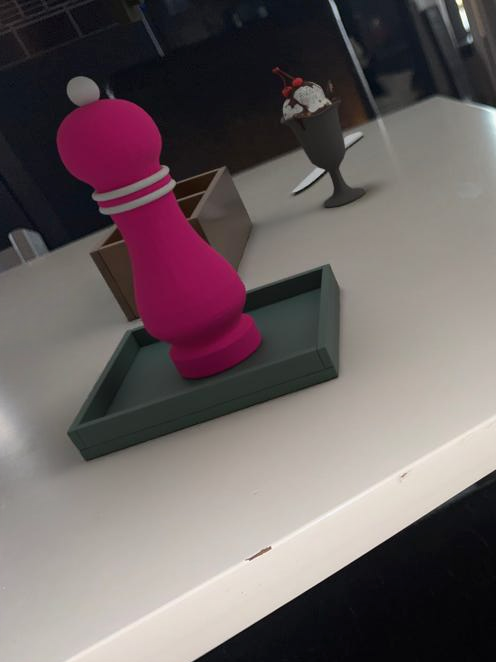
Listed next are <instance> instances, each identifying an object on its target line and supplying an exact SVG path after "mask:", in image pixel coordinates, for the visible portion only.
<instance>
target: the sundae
mask: <svg viewBox="0 0 496 662" xmlns="http://www.w3.org/2000/svg"><path fill="white" fill-rule="evenodd" d="M271 72H272V73H273V74H276V75H278V76H280V78H281V79H282V81H283V85H284V89H283V90H282V95H283V97H285V98H286V99H285V100H284V103H283V105H282V106H283V107H282V114H283V115H282V117H281V118H280V123H281V124H282V125H286V126H288V127H289V128H290V129H291V130H292V132H293V134H294V135H295V137H296V139H297V141H298V142H299V144H300V146H301V148H302V150H303V152H304V153H305V156H306V157H307V158H308V160H309V161H310V162H311V164H312V165H313V166H315V167H316V168H317V167H319V168H321V169H324V170H325V172H327V173H328V174H329V176H330V179H331V181H332V186H333V192H332V194H331V195H330V196H329V197H327V199H325V200H324V201H323V203H322V204H323V206H324V207H325V208H336V207H341V206H344V205H347V204H349V203H353V202H354V201H356V200H358V199H359V198H361V197H363V195H365V193H366V189H365V188H363V187H351V186H350V185H348V183H346V181H345V180H344V177H343V176H342V175H343V174H342V173H341V170H340V167H341V164H342V162H343V160H344V159H345V155H346V152H347V151H346V149H345V144H344V139H345V137H344V135H343V131H342V127H341V123H340V118H339V112H338V108H339V105H340V104H341V103H342V101H343V100H342V98H341V97H333V84H332V80H331V79H328V82H327V85H326V90H325V92H324V90H323V88H322V87H321V86H320V85H318V84H316V83H315V82H313V81H306V80H305V81H303V78H300V77H296V78H295V77H292V76H291V75H288V74H287V73H286V72H284V71H282V70H280V68H279V67H278V66H277V67H275V68H274V69H272V71H271ZM280 73H282V74H283V75H284V76H286V77H288V78H289V79H291V80H293V81H292V82H291V84H292V86H287V84H286V83H287V82H286V80H285V78H284V77H283V75H282V74H280Z"/></svg>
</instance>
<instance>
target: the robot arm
mask: <svg viewBox="0 0 496 662" xmlns="http://www.w3.org/2000/svg"><path fill="white" fill-rule="evenodd" d="M107 1H108V3H109V5H110V8H111V10H112V12H113V15H114V16H115V19H116V21H117V22H118V23H119V24H120V25H123V26H128V25H130V24H133V23H137V22H140V21H142V20H144V16H143V14H142V11H141V9H140V7H139V5H143V4H144V3H145V0H107Z"/></svg>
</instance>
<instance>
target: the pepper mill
mask: <svg viewBox="0 0 496 662" xmlns="http://www.w3.org/2000/svg"><path fill="white" fill-rule="evenodd" d="M66 94H67V96H68V98H69V100H70V101H71V102H72V103H73V104H74V105H76V106H78V107H77V108H75V109H74V110H72V111H71V112H70V113H69V114H67V115H66V116H65V118H64V119H63V120H62V122H61V123H60V125H59V127H58V129H57V133H56V145H57V150H58V154H59V157H60V159H61V162H62V163H63V165H64V166H65V168H66V170H67V171H68V173H70V174H71V175H72V176H74V178H76V179H78V180H79V181H82V182H84V183H86V184H88V185H89V186H91V187H92V188H93V189H94V191H93V192H92V194H91V198H92V200H93V201H94V202H95V201H96V203H97V206H98V208H99V209H98V211H99V213H100V214H102V215H104V216H105V215H108V216H110V218H111V219H112V222H113V223H114V224H116V226H117V227H118V229H119V230H120V232H121V234H122V237H123V239H124V241H125V243H126V245H127V248H128V251H129V255H130V259H131V263H132V271H133V280H134V291H135V301H136V305H137V309H138V313H139V316H140V317H139V318H140V320H141V323H142V326H143V325H144V327H145V329H146V330H147V331H148V333H149V334H150V335H152V336H153V337H155V338H157V339H159V340H161V341H164V342H167V343H169V344H172V346H171V348H170V352H169V356H170V358H171V359H172V361H173V363H174V365H175V366H176V368H177V370H178V372H179V373H180V375H182V376H183V377H186V378H192V379H197V378H204V377H208V376H212V375H216V374H218V373H221V372H223V371H226V370H228V369H230V368H232V367H234V366H235V365H237V364H239V363H241V362H242V361H244V360H245V359H246V358H248V357H249V356H250V355H251V354H253V353H254V352H255V351H256V350H257V348H258V347H259V345H260V343H261V334H260V332H259V330H258V328H257V326H256V324H255V322H254V320H253V318H252V317H251V316H250V315H247V314H243V313H242V311H243V307H244V304H245V300H246V291H247V288H246V286H245V283H244V282H243V280H242V278H241V276H240V275H239V274H238V272H237V271H235V269H234V268H233V267H232V266H231V265H230V264H229V262H228V261H227V260H226V259H225V258H223V257H222V256H221V255H220V254H219V253H218V252H216V251H215V250H214V249H213V248H212V247H211V246H209V245H208V244H207V243H206V242H205V241H204V240H203V239H202V238H201V237H200V236H199V235H198V234H197V233H196V231H195V230H194V229H193V228H192V227H191V225H190V224H189V222H188V221H187V219H186V217H185V216H184V214H183V212H182V211H181V209H180V207H179V205H178V203H177V200H176V198H175V195H174V193H173V191H172V189H173V188H174V187H175V185H176V181H175V180H174V178H172V177H171V175H170V168H169V167H168V166H167V165H165V164H164V165H163V164H160V163H161V162H160V156H161V153H162V147H163V141H162V135H161V133H160V130H159V128H158V126H157V125H156V123H155V121H154V119H153V118H152V116H150V115H149V114H148V112H146V111H145V110H144V109H143V108H142V107H140V106H139V105H137V104H135V103H134V102H131V101H128V100H126V99H119V98H105V99H100V96H101V95H100V94H101V91H100V88H99V86H98V85H97V83H96V82H95V81H94V80H92V79H91V78H89V77H86V76H75V77H74V78H71V79H70V80H69V81H68V83H67V86H66Z"/></svg>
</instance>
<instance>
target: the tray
mask: <svg viewBox="0 0 496 662" xmlns="http://www.w3.org/2000/svg"><path fill="white" fill-rule="evenodd" d="M340 288H341V287H340V285H339V283H338V281H337V277H336V275H335V273H334V270H333V269H332V266H331V264H330V263H326V264H323V265H319V266H318V267H314V268H311V269H308V270H305V271H302V272H299V273H296V274H292V275H290V276H287V277H284V278H281V279H278V280H275V281H272V282H269V283H266V284H263V285H260V286H257V287H254V288H251V289H248V290H246V300H245V304H244V307H243V311H242V313H243V314H247V315H250V316H251V317H252V318H253V320H254V322H255V324H256V326H257V328H258V330H259V332H260V334H261V343H260V345H259V347H258V348H257V350H256V351H255V352H254V353H253V354H251V355H250V356H249V357H248V358H246V359H245V360H244V361H242V362H241V363H239V364H237V365H235V366H234V367H232V368H230V369H228V370H226V371H223V372H221V373H218V374H216V375H212V376H208V377H204V378H197V379H192V378H186V377H183V376H182V375H180V373H179V372H178V370H177V368H176V366H175V365H174V363H173V361H172V359H171V358H170V356H169V352H170V348H171V346H172V344H169V343H167V342H164V341H161V340H159V339H157V338H155V337H153V336H152V335H150V334H149V333H148V331H147V330H146V329H145V327H144V325H143V324H142V325H140V326H137V327H134V328H132V329H128V330H126V331H125V332H124V334H123V336H122V337H121V339H120V341H119V342H118V344H117V346H116V348H115V350H114V351H113V353H112V355H111V356H110V358H109V360H108V361H107V363H106V365H105V367H104V368H103V370H102V372H101V373H100V375H99V377H98V379H97V381H96V382H95V384H94V385H93V387H92V389H91V390H90V392H89V393H88V395H87V397H86V399H85V401H84V402H83V404H82V406H81V407H80V409H79V411H78V413H77V414H76V416H75V417H74V419H73V421H72V423H71V425H70V426H69V428H68V430H66V431H67V432H66V435H67V436H68V438H69V440H70V441H71V443H73V445H74V446H75V448H76V450H77V451H78V452H79V454H80V455H81V457H82V458H83V460H84V461H85V462H86V461H89V460H92V459H95V458H98V457H100V456H104V455H107V454H110V453H113V452H116V451H119V450H122V449H125V448H128V447H131V446H134V445H136V444H140V443H143V442H145V441H148V440H151V439H155V438H158V437H161V436H164V435H166V434H167V435H168V434H170V433H173V432H175V431H178V430H182V429H185V428H187V427H191V426H193V425H197V424H200V423H203V422H205V421H209V420H212V419H215V418H218V417H221V416H223V415H227V414H230V413H233V412H235V411H238V410H242V409H244V408H247V407H252V406H254V405H257V404H261V403H263V402H265V401H269V400H273V399H274V398H277V397H280V396H283V395H287V394H289V393H292V392H295V391H299V390H301V389H305V388H308V387H311V386H314V385H317V384H320V383H323V382H325V381H328V380H331V379H334V378H335V379H336V378H337V377H339V355H340V353H339V352H340V351H339V348H340V291H341V290H340Z"/></svg>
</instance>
